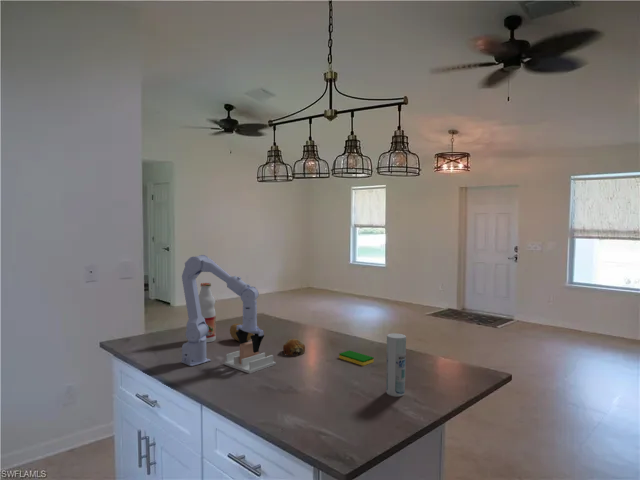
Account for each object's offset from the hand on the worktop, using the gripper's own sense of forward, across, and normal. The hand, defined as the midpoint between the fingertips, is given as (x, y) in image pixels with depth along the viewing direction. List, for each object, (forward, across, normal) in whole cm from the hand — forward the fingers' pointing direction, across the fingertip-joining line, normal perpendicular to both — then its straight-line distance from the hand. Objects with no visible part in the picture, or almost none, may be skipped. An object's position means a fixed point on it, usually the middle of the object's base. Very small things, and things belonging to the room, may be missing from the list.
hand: (249, 350), depth 179 cm
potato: (+6, +29, -20) cm, 36 cm away
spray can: (+6, -60, -14) cm, 62 cm away
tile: (+5, 0, 0) cm, 5 cm away
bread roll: (+6, -2, -24) cm, 24 cm away
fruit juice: (+6, +43, -9) cm, 44 cm away
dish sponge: (+7, -29, -34) cm, 45 cm away
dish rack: (+6, 0, 0) cm, 6 cm away
